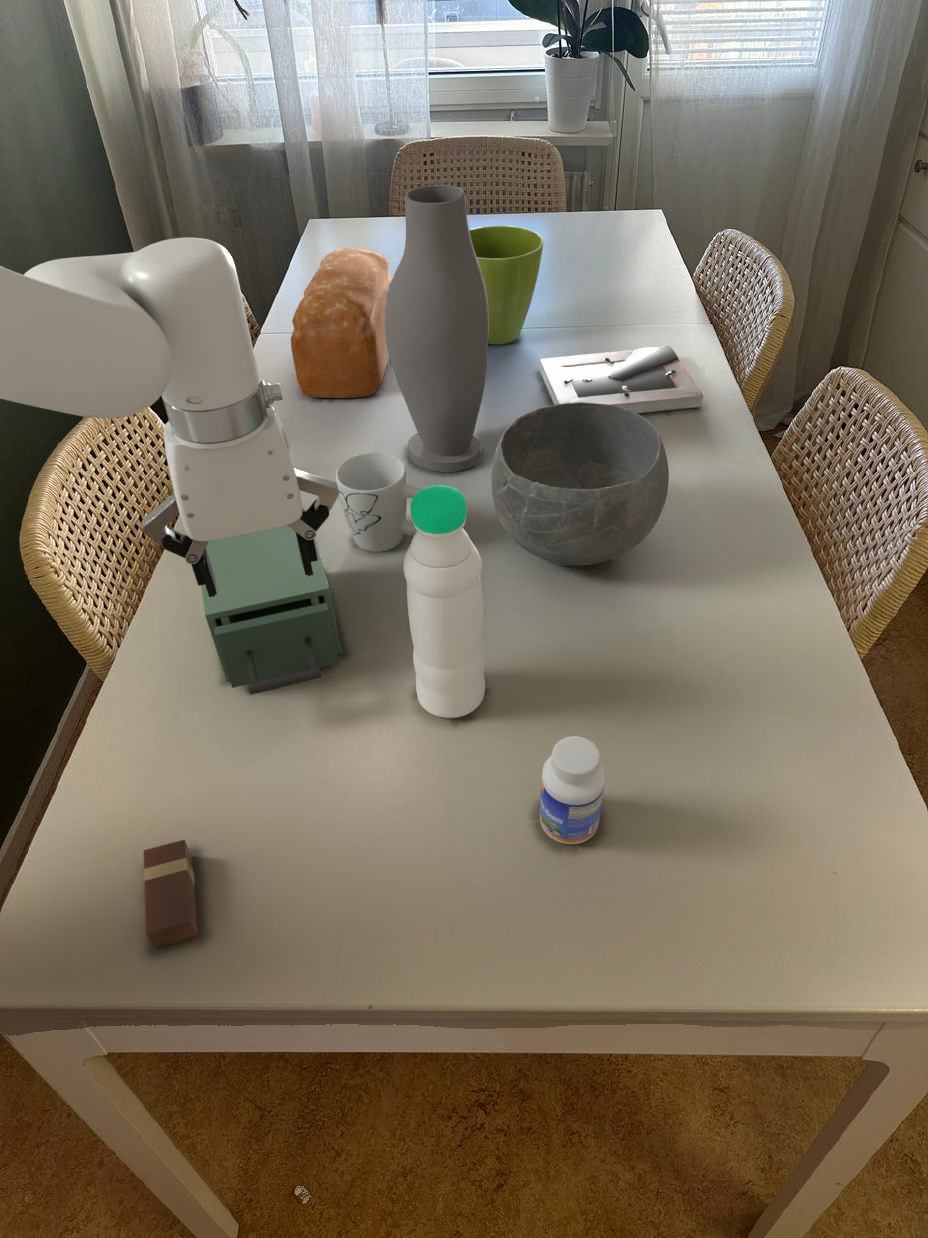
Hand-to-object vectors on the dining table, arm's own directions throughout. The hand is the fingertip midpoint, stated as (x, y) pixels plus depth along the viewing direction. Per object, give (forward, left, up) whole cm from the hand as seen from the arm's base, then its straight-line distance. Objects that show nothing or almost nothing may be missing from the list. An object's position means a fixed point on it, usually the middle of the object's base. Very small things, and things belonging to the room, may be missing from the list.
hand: (260, 576), depth 80 cm
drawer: (0, +6, -15) cm, 16 cm away
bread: (+21, +72, -16) cm, 77 cm away
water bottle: (+16, -6, -16) cm, 24 cm away
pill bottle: (+22, -24, -16) cm, 36 cm away
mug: (+16, +22, -16) cm, 32 cm away
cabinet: (0, +11, -16) cm, 20 cm away
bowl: (+38, +14, -16) cm, 43 cm away
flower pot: (+47, +73, -16) cm, 88 cm away
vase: (+28, +39, -16) cm, 51 cm away
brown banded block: (-13, -21, -16) cm, 29 cm away
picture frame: (+58, +48, -16) cm, 77 cm away
